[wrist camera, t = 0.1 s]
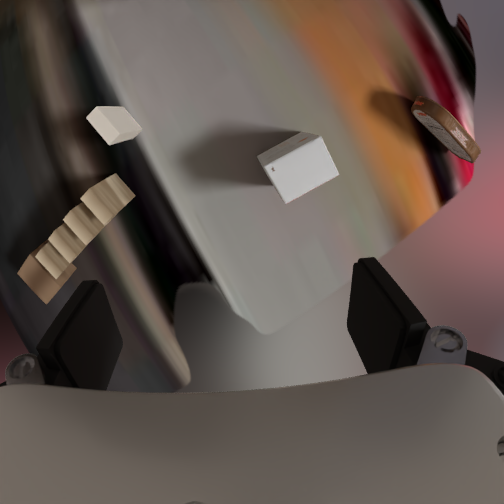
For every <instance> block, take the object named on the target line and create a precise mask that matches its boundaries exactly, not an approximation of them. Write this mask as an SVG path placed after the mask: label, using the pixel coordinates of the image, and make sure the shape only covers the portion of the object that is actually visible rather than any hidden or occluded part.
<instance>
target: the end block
mask: <svg viewBox="0 0 504 504" xmlns="http://www.w3.org/2000/svg"><path fill="white" fill-rule="evenodd" d="M48 242H49V240H48V239H47V240H46V241H45V242H44V243H42V244H41V245H40V246H39V247H38V248H37V249H35V250H34V251H33V252H32V253H31V254H30V255H29V256H28V258H27V259H26V261H25V262H24V264H23V265H22V267H21V268H20V270H19V272H18V273H17V274H18V275H19V276H20V277H21V278H22V279H23V280H24V281H25V283H26V284H27V285H28V286H29V287H30V288H31V289H32V290H33V291H34V292H35V293H36V294H37V295H38V296H39V297H40V298H41V299H42V300H43V302H44V303H45V304H46V305H47V303H48V302H49V301H50V300H51V299H52V297H53V296H54V295H55V294H56V293H57V292H58V290H59V289H60V288H61V287H62V286H63V284H64V283H65V282H66V281H67V280H68V278H69V277H70V276H71V275H72V274H73V272H74V271H75V270H76V269H77V268H76V267H75V266H74V265H73V264H72V263H70V264H69V266H68V267H67V268H66V269H65V270H64V271H63V272H62V273H61V275H60V276H59V277H58V278H57V279H55V278H54V277H53V276H52V275H51V273H50V272H49V271H48V270H47V269H46V268H45V267H44V266H43V265H42V264H41V263H40V261H39V260H38V259H37V258H36V257H35V256H36V255H37V253H38V252H39V251H40V249H41V248H42V247H44V246H45V245H46V244H47V243H48Z"/></svg>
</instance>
